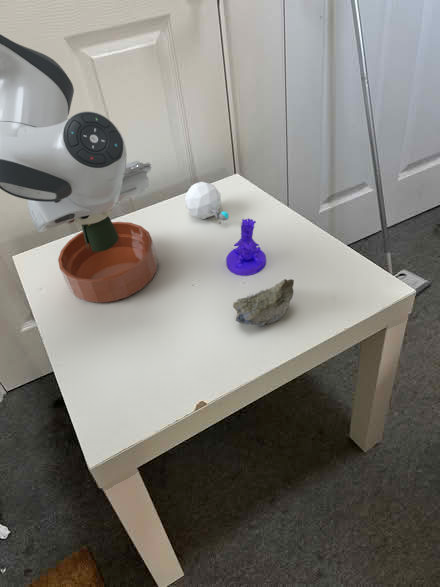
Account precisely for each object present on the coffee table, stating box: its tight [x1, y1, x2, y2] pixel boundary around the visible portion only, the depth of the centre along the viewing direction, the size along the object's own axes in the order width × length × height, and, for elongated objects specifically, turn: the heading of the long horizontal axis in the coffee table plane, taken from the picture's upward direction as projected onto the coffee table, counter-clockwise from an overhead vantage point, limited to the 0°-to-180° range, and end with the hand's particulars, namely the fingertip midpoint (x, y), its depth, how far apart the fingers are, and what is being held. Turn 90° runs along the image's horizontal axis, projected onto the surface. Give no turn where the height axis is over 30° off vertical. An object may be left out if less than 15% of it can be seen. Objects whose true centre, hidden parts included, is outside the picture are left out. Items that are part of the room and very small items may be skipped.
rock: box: [232, 278, 295, 328], centre depth 78 cm, size 11×6×10 cm
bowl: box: [57, 221, 158, 303], centre depth 91 cm, size 18×18×6 cm
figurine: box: [225, 217, 267, 277], centre depth 88 cm, size 8×8×10 cm
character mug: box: [74, 208, 119, 252], centre depth 84 cm, size 11×7×13 cm, turn 52°
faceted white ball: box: [184, 181, 229, 221], centre depth 101 cm, size 8×8×12 cm
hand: (90, 210), depth 83 cm, fingers closed on character mug, 7 cm apart
